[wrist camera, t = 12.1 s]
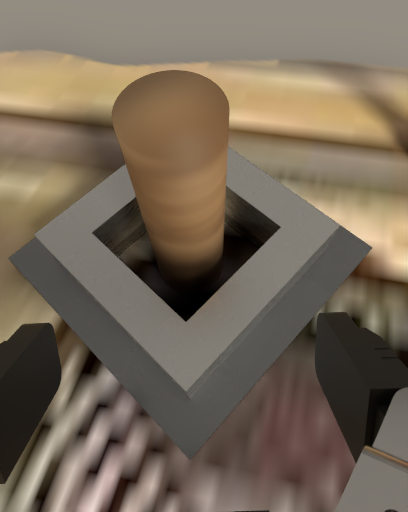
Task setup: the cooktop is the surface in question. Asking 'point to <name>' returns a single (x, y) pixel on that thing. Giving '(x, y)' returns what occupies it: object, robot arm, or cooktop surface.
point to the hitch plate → (229, 377)
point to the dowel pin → (178, 170)
